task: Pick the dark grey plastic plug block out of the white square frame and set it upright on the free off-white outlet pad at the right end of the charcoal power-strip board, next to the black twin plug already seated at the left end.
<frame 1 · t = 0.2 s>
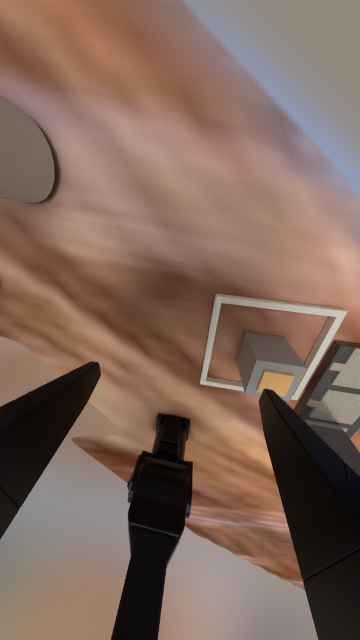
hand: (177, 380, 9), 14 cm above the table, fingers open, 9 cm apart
can: (29, 163, 18), on the table
strip: (334, 399, 26), on the table
plug: (265, 364, 21), in the white square frame
white square frame: (259, 349, 24), on the table
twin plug: (331, 459, 25), on the strip, point 5 cm above the table
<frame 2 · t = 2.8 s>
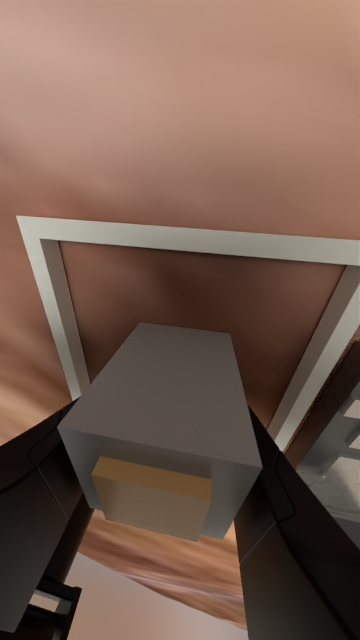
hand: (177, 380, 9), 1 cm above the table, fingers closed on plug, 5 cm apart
strip: (350, 465, 12), on the table
plug: (170, 409, 8), in the white square frame, touching gripper
white square frame: (180, 363, 10), on the table
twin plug: (349, 601, 11), on the strip, point 5 cm above the table
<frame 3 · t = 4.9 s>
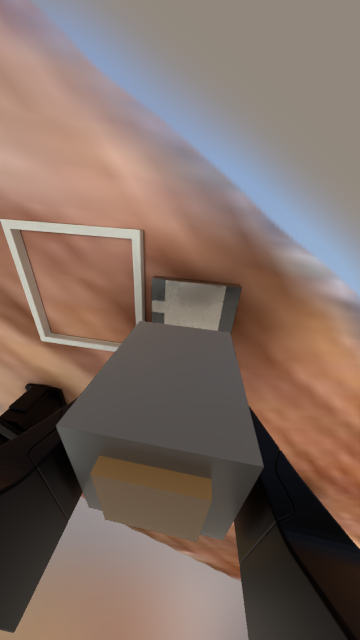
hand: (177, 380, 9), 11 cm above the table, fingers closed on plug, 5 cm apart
strip: (187, 355, 22), on the table
plug: (170, 408, 8), point 13 cm above the table, touching gripper
white square frame: (86, 293, 21), on the table
when the fingers open (4 cm above the table, at t = 7.0 s): plug stays where it is, resting on strip.
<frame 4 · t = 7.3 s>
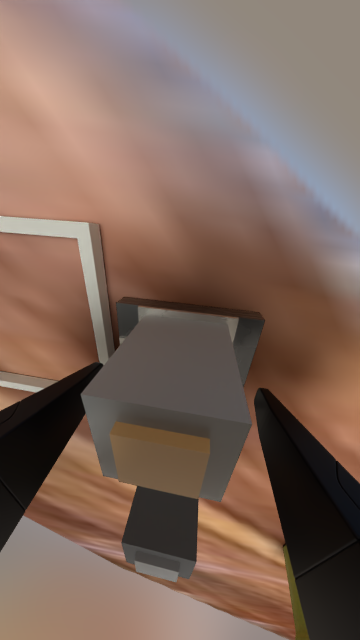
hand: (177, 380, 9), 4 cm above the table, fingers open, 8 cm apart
strip: (179, 405, 16), on the table
plant pot: (303, 547, 26), on the table
plug: (174, 391, 8), on the strip, point 5 cm above the table
white square frame: (27, 320, 14), on the table
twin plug: (166, 506, 15), on the strip, point 5 cm above the table
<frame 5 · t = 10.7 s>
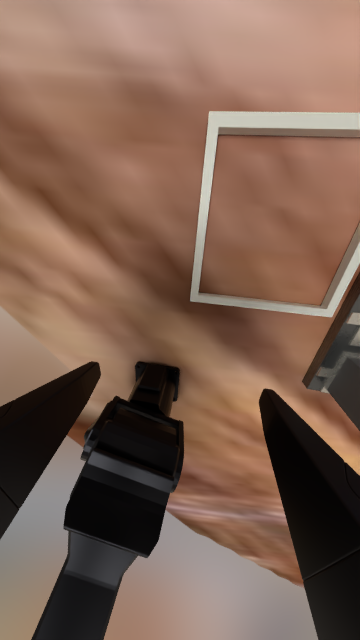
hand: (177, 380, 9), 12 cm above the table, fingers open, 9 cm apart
white square frame: (276, 232, 16), on the table
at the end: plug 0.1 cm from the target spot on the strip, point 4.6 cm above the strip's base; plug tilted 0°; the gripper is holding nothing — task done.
